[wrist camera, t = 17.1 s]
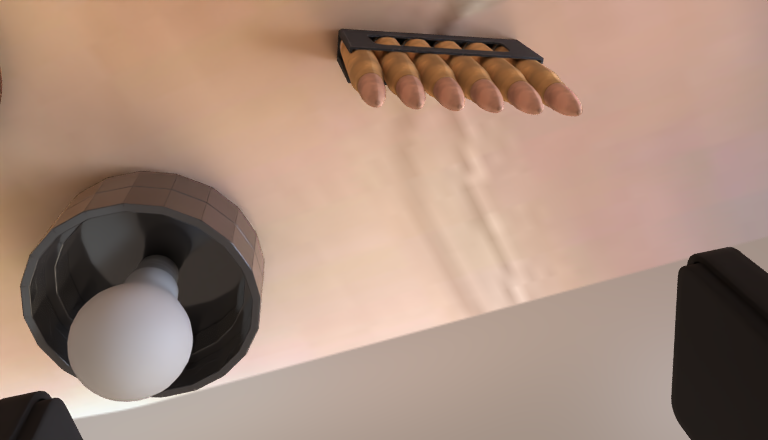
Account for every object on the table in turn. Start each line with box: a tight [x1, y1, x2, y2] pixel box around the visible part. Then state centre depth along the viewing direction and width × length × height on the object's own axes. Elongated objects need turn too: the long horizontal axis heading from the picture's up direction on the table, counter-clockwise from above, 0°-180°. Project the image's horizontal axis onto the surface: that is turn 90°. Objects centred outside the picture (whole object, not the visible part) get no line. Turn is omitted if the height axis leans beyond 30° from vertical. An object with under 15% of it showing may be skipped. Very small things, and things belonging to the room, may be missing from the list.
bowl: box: [20, 171, 265, 397], centre depth 39 cm, size 13×13×6 cm
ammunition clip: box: [337, 29, 582, 116], centre depth 33 cm, size 11×2×12 cm, turn 85°
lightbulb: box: [67, 255, 193, 402], centre depth 36 cm, size 6×6×11 cm
